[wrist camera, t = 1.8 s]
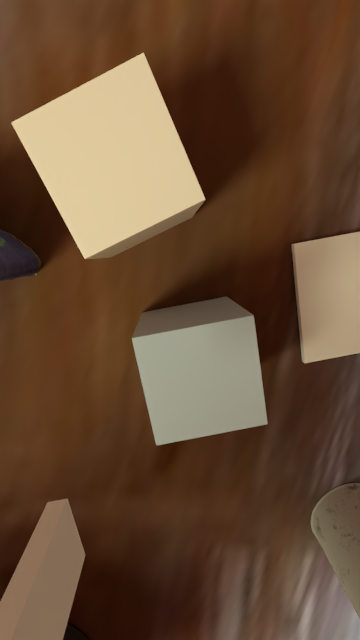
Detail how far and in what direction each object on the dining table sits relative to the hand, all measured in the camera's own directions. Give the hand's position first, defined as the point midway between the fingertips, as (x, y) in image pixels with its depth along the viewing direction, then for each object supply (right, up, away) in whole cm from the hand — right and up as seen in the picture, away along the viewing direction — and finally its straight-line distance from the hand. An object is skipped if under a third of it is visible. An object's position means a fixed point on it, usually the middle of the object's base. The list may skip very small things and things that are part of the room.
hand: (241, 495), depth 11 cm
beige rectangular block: (-7, +18, +15) cm, 24 cm away
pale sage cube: (-1, +4, +18) cm, 19 cm away
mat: (+15, +9, +18) cm, 25 cm away
